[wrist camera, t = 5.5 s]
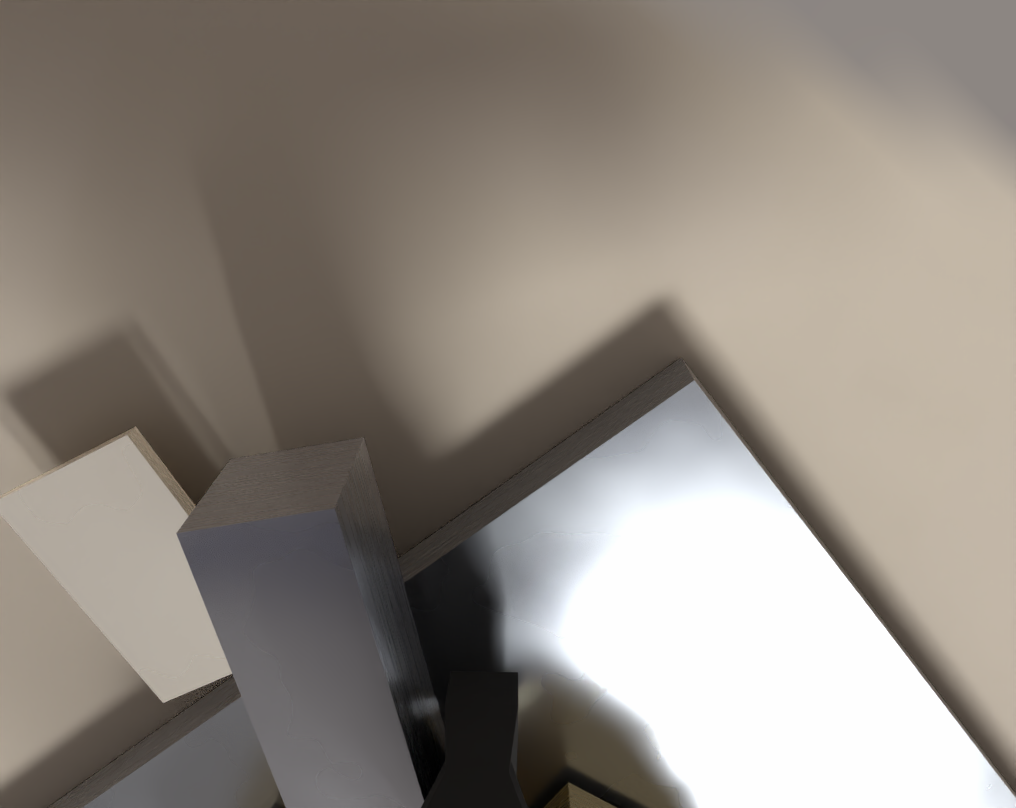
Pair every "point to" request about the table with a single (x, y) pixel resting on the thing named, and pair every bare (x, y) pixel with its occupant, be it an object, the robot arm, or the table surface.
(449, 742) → the robot arm
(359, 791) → the ring nut
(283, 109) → the table surface
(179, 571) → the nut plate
